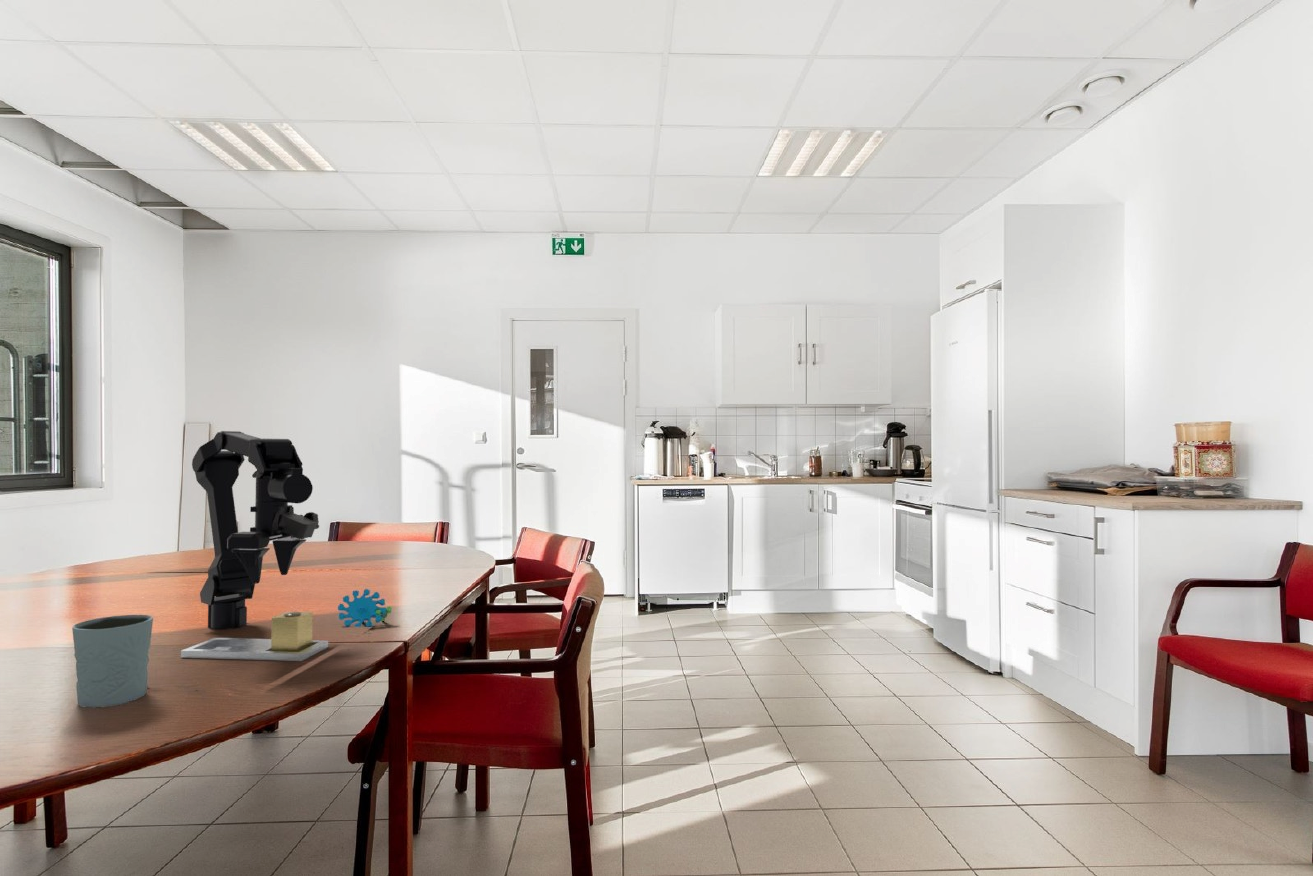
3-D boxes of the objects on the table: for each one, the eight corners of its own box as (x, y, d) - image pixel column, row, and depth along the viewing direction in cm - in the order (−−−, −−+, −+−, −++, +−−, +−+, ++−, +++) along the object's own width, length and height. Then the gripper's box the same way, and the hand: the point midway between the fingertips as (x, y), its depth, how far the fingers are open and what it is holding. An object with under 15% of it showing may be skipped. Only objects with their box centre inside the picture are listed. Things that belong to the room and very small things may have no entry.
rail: (180, 661, 130) (180, 650, 130) (214, 647, 139) (214, 637, 139) (301, 665, 128) (302, 654, 128) (328, 651, 137) (328, 640, 137)
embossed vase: (86, 714, 104) (88, 632, 104) (59, 701, 110) (60, 623, 110) (163, 694, 113) (165, 619, 113) (134, 683, 118) (136, 610, 118)
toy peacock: (332, 624, 151) (343, 585, 158) (332, 639, 155) (344, 600, 162) (386, 629, 154) (395, 590, 161) (385, 643, 158) (394, 604, 165)
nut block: (271, 655, 131) (271, 616, 131) (286, 648, 136) (287, 610, 136) (297, 656, 131) (297, 617, 131) (312, 648, 136) (312, 611, 136)
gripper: (283, 505, 132) (281, 589, 132) (334, 498, 151) (333, 571, 151) (225, 504, 133) (224, 587, 133) (284, 497, 152) (283, 570, 151)
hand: (270, 579), depth 142 cm, fingers open, 9 cm apart
